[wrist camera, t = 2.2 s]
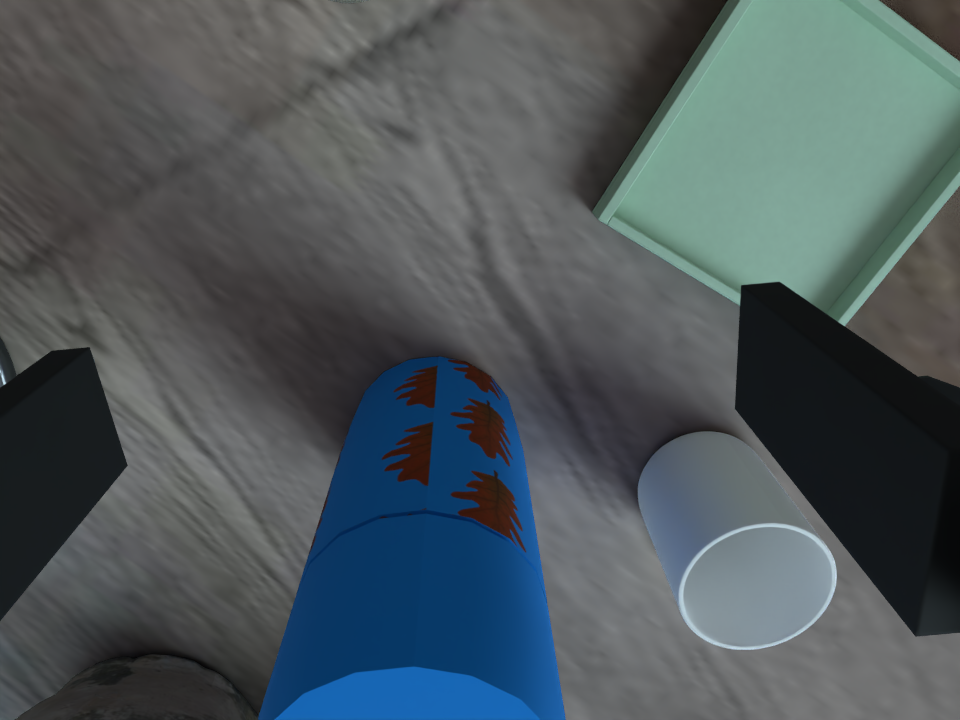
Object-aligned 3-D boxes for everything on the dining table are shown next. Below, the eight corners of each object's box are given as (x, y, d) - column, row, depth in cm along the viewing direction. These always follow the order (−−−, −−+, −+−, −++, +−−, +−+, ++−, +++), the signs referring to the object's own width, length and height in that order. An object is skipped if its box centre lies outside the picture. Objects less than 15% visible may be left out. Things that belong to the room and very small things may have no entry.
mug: (724, 581, 52) (785, 703, 42) (607, 488, 49) (645, 596, 39) (818, 504, 50) (906, 614, 40) (702, 401, 47) (768, 493, 37)
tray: (591, 212, 42) (597, 219, 40) (768, -65, 37) (785, -72, 35) (805, 342, 45) (821, 355, 43) (995, 106, 40) (1022, 108, 38)
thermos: (439, 528, 50) (421, 930, 27) (317, 435, 47) (178, 797, 24) (552, 425, 47) (639, 776, 24) (429, 319, 44) (395, 603, 21)
